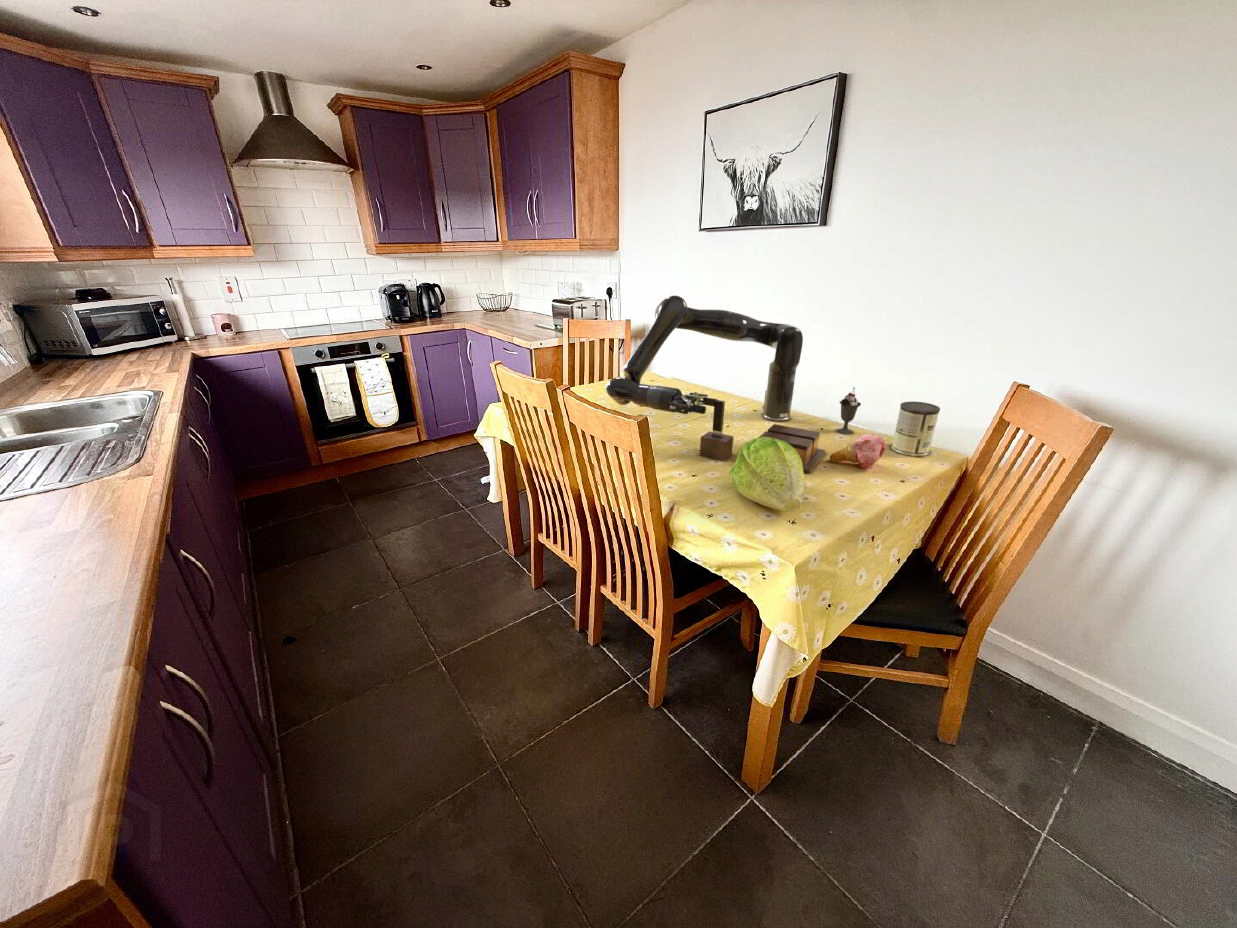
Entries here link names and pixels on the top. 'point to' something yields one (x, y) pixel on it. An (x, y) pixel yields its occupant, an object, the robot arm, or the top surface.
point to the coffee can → (915, 428)
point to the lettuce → (770, 474)
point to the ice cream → (862, 451)
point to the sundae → (848, 411)
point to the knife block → (716, 446)
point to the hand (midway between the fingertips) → (711, 406)
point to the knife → (718, 418)
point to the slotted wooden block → (799, 443)
